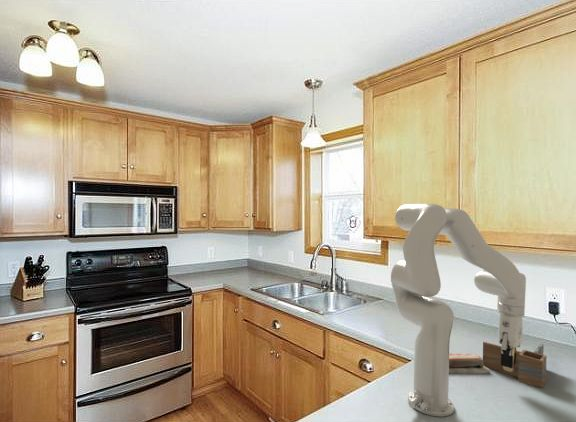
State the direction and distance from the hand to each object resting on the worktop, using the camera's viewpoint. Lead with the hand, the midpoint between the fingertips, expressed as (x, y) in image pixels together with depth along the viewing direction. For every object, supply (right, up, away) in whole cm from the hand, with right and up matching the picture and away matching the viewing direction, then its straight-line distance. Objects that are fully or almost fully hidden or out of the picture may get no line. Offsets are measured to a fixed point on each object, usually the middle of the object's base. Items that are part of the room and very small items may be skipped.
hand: (508, 364), depth 110 cm
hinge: (+12, -8, +13) cm, 19 cm away
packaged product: (-9, -8, +15) cm, 19 cm away
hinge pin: (0, -2, 0) cm, 2 cm away
